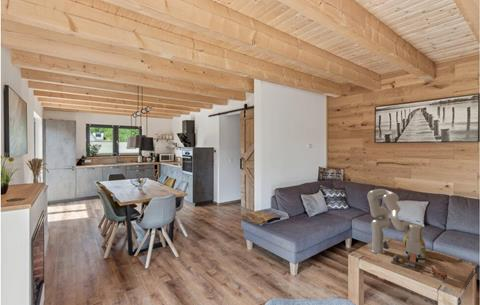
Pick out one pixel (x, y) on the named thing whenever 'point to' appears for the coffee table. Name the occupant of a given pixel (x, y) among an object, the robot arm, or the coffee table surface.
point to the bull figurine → (438, 273)
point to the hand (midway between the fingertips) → (413, 260)
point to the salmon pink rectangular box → (412, 261)
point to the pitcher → (419, 241)
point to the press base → (405, 264)
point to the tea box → (422, 258)
